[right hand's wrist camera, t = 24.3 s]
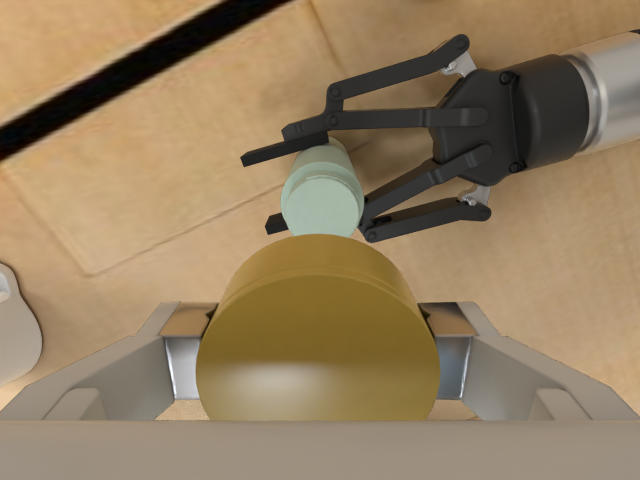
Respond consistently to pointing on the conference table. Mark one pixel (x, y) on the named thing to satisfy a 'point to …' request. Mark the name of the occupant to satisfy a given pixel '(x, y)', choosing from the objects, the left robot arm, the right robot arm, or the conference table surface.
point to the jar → (322, 192)
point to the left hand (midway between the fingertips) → (258, 193)
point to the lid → (317, 338)
